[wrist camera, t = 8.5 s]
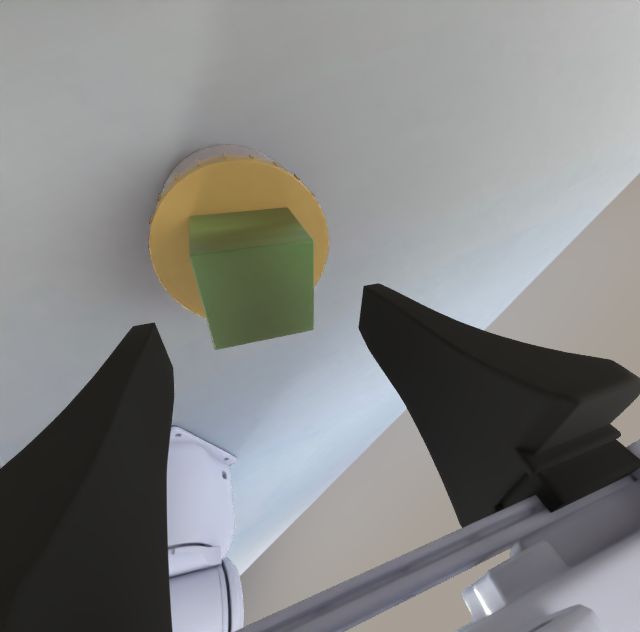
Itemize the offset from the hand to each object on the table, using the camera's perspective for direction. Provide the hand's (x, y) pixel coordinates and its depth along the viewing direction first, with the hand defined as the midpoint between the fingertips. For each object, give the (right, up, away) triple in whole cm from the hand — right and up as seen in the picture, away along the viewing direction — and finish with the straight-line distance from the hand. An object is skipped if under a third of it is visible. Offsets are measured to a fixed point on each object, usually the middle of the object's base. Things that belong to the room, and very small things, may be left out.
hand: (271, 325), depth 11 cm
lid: (-2, +4, +5) cm, 6 cm away
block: (-2, +3, +4) cm, 6 cm away
